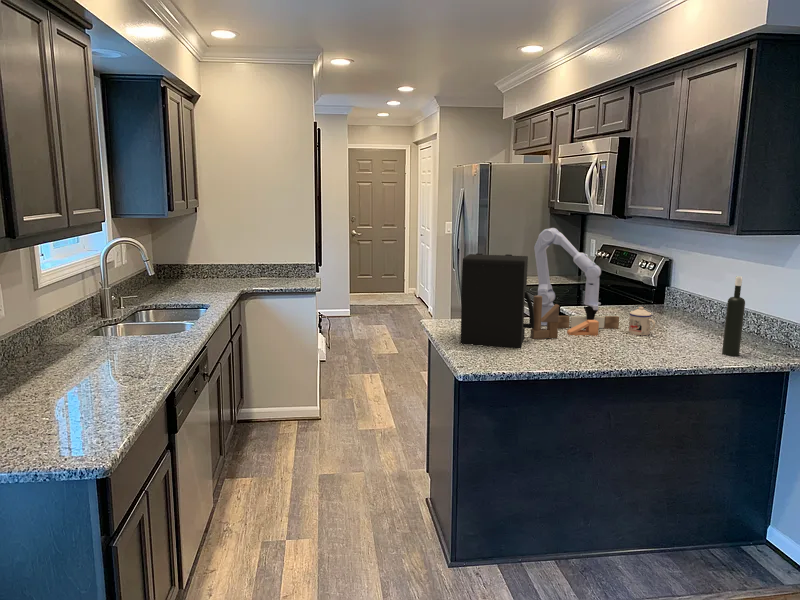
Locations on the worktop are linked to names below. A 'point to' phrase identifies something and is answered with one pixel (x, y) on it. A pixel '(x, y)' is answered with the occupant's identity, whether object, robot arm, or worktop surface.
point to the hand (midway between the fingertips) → (590, 322)
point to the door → (580, 319)
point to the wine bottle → (734, 321)
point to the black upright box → (494, 300)
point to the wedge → (590, 326)
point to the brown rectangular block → (608, 324)
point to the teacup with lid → (640, 322)
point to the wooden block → (544, 320)
